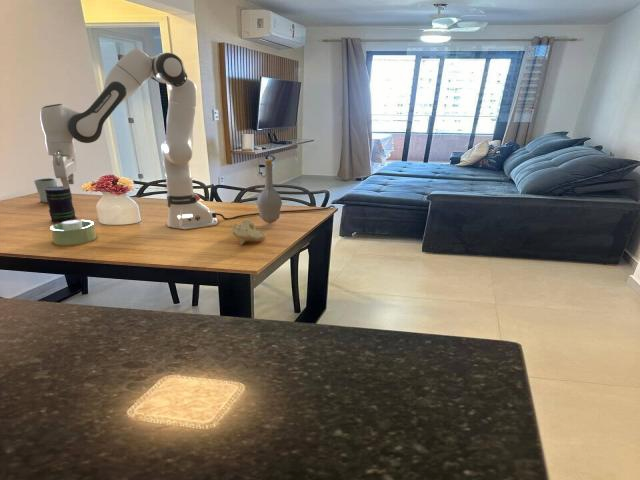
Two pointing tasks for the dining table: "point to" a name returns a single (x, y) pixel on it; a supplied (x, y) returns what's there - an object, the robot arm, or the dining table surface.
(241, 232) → the grey beige rock
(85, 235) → the green round shallow bowl
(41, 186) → the grey cup
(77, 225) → the shot glass
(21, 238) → the dining table surface
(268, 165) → the bottle
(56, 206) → the storage jar
